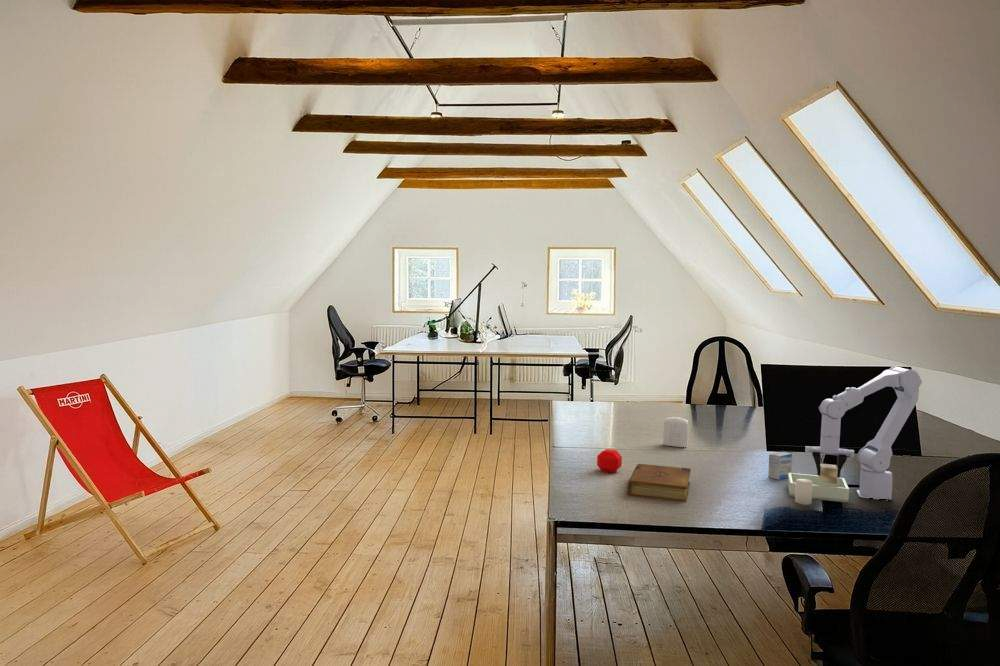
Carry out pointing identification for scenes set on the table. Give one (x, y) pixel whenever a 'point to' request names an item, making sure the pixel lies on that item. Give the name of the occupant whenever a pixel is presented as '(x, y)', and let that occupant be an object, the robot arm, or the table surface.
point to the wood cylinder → (803, 491)
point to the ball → (609, 460)
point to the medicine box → (780, 465)
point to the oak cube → (828, 473)
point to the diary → (659, 482)
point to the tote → (821, 488)
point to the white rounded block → (676, 432)
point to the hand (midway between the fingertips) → (827, 476)
